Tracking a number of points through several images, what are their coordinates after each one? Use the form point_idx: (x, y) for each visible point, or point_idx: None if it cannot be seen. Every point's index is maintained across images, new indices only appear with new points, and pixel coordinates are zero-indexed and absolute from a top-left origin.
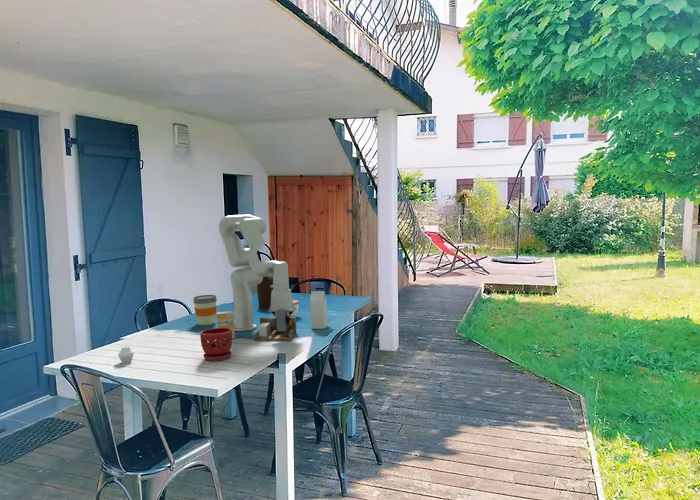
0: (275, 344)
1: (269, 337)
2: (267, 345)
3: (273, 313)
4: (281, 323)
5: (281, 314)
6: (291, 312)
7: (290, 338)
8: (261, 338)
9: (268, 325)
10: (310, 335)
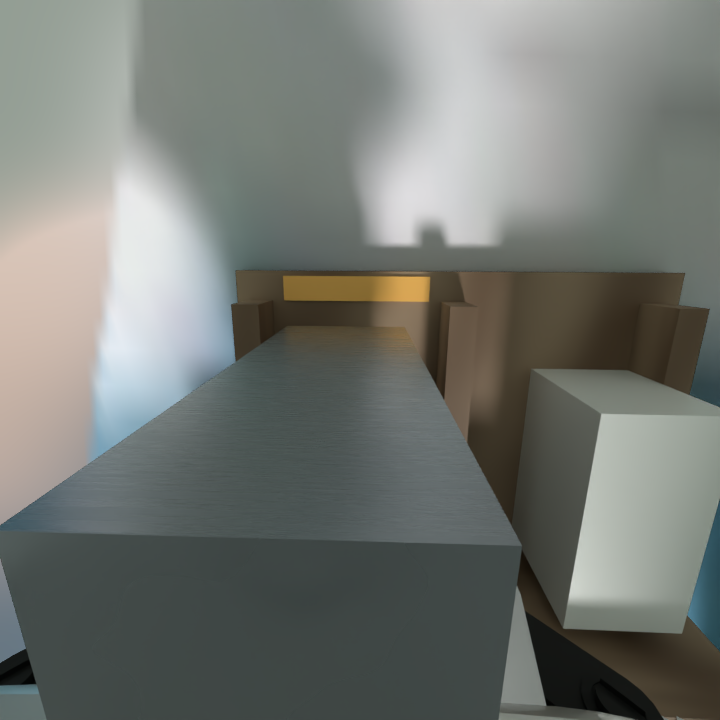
0: (376, 91)
1: (492, 320)
2: (466, 42)
3: (585, 673)
4: (319, 351)
5: (251, 427)
6: (16, 664)
7: (237, 271)
8: (584, 280)
9: (571, 519)
10: (101, 448)
